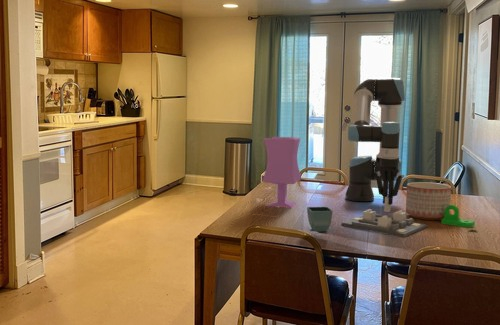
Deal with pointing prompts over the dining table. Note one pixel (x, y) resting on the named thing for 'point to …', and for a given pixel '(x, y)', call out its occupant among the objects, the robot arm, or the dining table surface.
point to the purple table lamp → (282, 166)
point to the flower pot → (319, 218)
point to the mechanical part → (455, 218)
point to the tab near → (384, 221)
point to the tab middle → (369, 215)
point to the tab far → (399, 216)
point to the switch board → (396, 227)
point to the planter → (427, 200)
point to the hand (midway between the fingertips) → (387, 211)
